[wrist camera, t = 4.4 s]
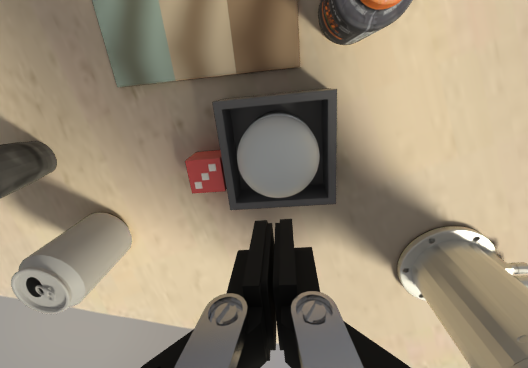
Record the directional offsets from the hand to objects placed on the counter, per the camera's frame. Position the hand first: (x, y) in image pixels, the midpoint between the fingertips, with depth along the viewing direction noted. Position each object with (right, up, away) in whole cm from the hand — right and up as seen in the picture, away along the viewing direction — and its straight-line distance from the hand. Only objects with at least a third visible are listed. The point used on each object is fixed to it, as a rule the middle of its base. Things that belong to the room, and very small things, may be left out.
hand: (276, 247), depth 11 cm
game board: (-7, +19, +15) cm, 26 cm away
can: (-23, -4, +26) cm, 35 cm away
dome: (+1, +7, +18) cm, 20 cm away
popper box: (-1, +8, +20) cm, 21 cm away
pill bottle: (+8, +20, +14) cm, 26 cm away
